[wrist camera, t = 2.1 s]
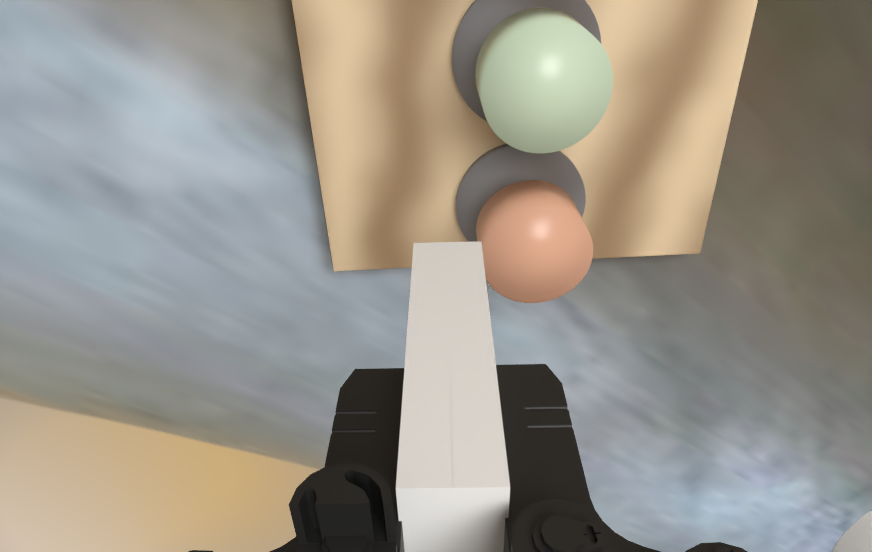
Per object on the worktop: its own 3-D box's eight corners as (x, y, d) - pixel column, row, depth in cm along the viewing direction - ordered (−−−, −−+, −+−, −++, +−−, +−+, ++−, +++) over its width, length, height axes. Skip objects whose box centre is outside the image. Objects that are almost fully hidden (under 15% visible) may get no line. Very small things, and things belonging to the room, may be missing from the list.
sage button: (475, 132, 29) (481, 156, 27) (475, 10, 26) (481, 24, 24) (588, 126, 29) (605, 150, 27) (601, 4, 26) (620, 17, 24)
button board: (337, 253, 38) (332, 276, 36) (263, -244, 25) (248, -256, 23) (687, 236, 38) (703, 258, 36) (794, -269, 25) (830, -283, 23)
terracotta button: (476, 273, 33) (481, 305, 31) (475, 182, 31) (481, 210, 28) (574, 268, 33) (587, 300, 31) (583, 177, 31) (598, 204, 28)
